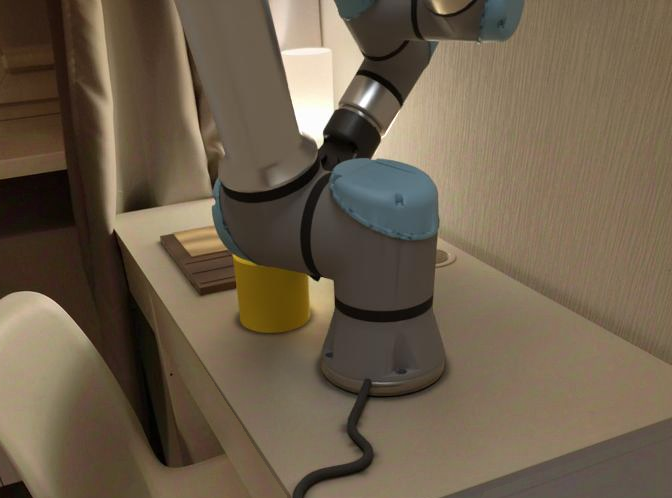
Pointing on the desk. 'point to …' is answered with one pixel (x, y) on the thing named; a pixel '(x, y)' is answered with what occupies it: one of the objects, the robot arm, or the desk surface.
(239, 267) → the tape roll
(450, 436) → the desk surface
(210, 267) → the board
